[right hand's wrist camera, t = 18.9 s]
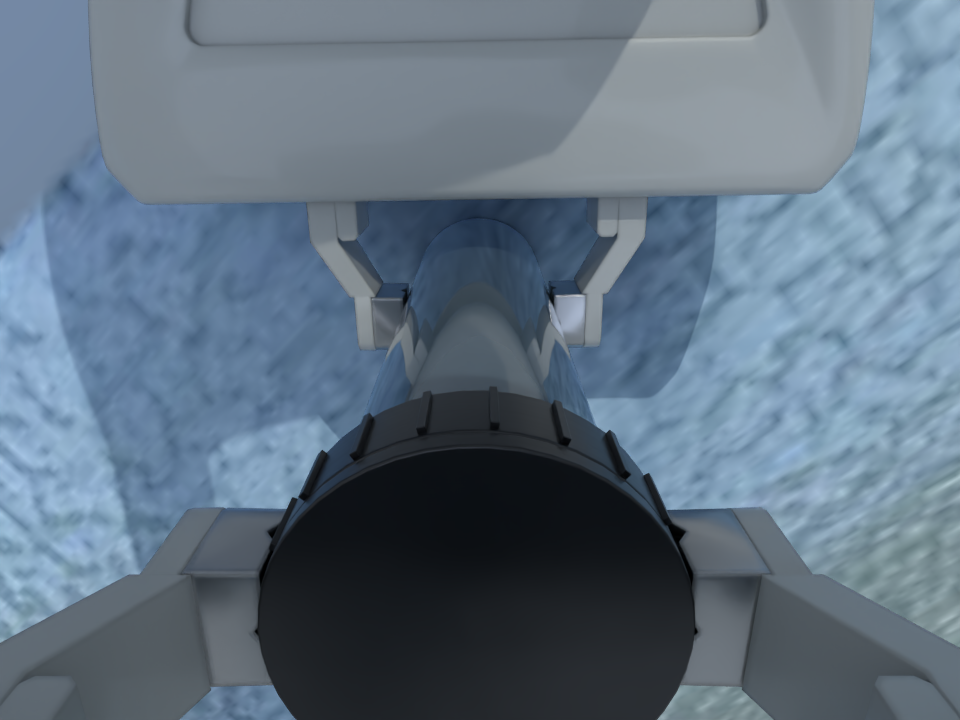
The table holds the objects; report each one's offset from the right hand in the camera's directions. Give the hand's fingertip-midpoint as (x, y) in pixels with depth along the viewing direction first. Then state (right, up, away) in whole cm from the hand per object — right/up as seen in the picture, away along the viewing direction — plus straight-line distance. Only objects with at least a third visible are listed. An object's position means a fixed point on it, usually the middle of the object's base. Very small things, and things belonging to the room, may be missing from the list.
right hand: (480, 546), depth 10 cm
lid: (0, -1, -1) cm, 2 cm away
